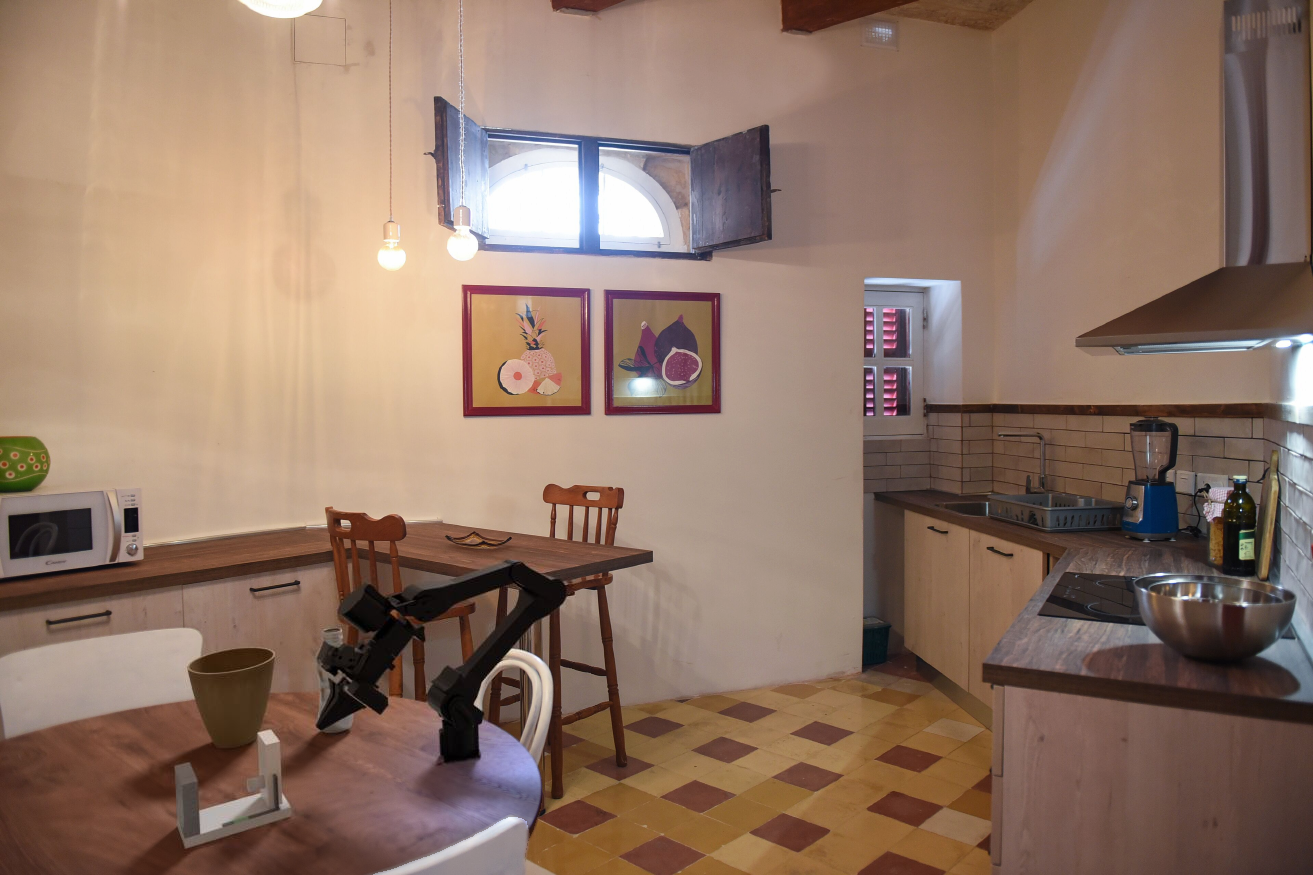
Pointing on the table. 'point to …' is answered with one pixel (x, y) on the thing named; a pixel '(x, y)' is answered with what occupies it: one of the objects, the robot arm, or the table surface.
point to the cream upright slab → (268, 770)
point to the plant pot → (232, 692)
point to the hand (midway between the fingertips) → (318, 728)
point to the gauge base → (235, 818)
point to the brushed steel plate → (187, 800)
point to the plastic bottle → (324, 688)
